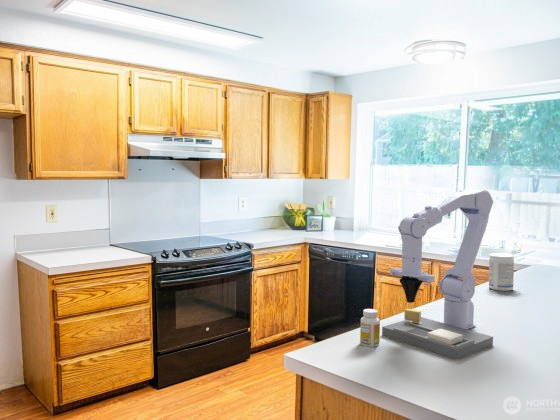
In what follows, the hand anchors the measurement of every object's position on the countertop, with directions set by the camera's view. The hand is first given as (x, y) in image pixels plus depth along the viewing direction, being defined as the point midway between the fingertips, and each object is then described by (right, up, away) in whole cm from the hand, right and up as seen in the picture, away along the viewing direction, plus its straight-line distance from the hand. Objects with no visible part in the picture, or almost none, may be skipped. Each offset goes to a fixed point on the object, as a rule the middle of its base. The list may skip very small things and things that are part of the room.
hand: (410, 302), depth 145 cm
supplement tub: (+55, -6, +61) cm, 82 cm away
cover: (+6, -8, -12) cm, 16 cm away
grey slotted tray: (+6, -10, -4) cm, 13 cm away
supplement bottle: (-14, -11, -8) cm, 19 cm away
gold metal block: (+2, -7, +4) cm, 8 cm away
